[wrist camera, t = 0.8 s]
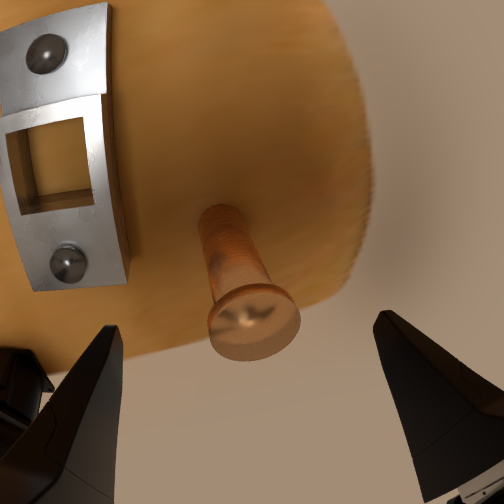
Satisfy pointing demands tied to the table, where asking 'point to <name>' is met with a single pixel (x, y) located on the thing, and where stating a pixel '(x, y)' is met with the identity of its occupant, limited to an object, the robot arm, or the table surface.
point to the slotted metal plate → (97, 143)
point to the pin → (243, 292)
